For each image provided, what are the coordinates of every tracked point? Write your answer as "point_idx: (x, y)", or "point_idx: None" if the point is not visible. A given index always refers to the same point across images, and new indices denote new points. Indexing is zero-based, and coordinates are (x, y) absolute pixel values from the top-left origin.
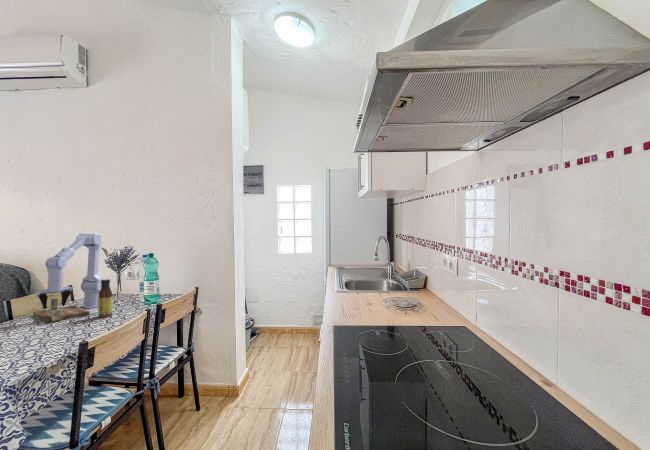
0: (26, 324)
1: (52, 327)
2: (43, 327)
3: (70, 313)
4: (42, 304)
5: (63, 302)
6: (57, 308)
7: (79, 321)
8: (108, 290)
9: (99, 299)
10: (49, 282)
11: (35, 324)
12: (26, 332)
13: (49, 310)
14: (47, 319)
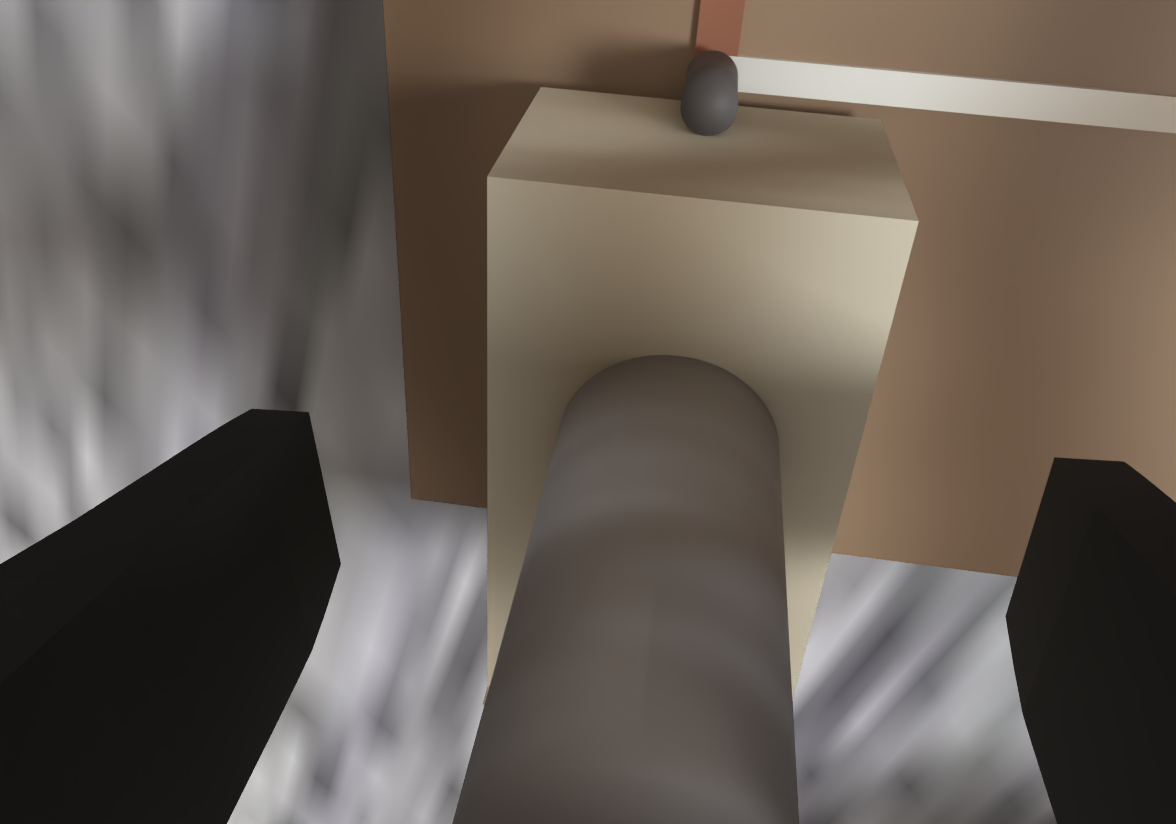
0: (54, 180)
1: (430, 782)
2: (319, 682)
3: (1129, 457)
4: (115, 529)
5: (1066, 740)
6: (811, 441)
7: (913, 816)
8: None
9: None
10: None
11: (231, 362)
12: None
13: (490, 469)
14: (442, 487)
